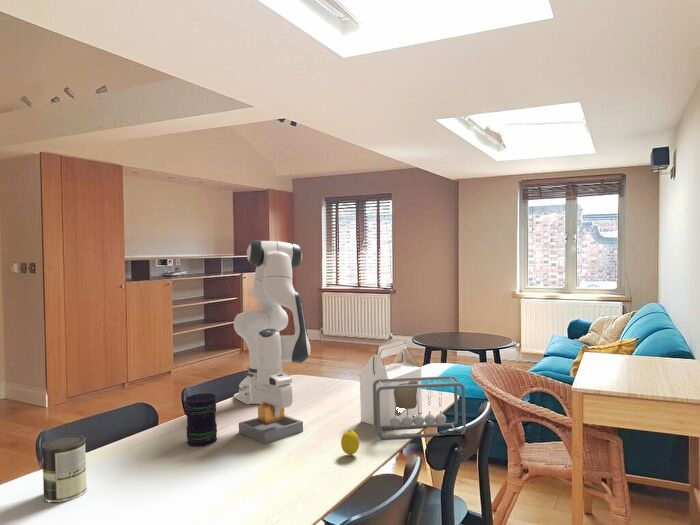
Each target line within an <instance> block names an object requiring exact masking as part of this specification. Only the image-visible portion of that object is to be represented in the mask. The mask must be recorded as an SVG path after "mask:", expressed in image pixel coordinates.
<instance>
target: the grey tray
mask: <svg viewBox="0 0 700 525" xmlns="http://www.w3.org/2000/svg"><path fill="white" fill-rule="evenodd" d="M284 417H285V420H282V421H279V422H276V423H273V424H270V425H263V424H260V423H258V416H257V417H254V418H251V419H248V420H242V421H240V422H238V434H241V435H244V436H245V435H246V436H245V437H249V439H253V440H255V441H257V442H259V443H263V444H265V445H267V444H269V443H272V442H275V441H278V440H281V439H285V438H287V437H290V436H291V437H292V436H293V435H297V434H299V433H302V432H304V421H302V420H300V419H296V418H294V417H291V416H288V415H285V414H284Z"/></svg>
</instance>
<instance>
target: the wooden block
mask: <svg viewBox="0 0 700 525" xmlns="http://www.w3.org/2000/svg"><path fill="white" fill-rule="evenodd" d="M273 412H275V408H274V405H272V404H269V403H266V404H262V405H261V404H258V405H257V417H258V423H260V424H263V425H270V424H273V423H276V422H279V421H282V420H285V417H284V415H285V408H281V410H280V416H279V417H278V418H275V417H273Z"/></svg>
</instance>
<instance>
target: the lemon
mask: <svg viewBox="0 0 700 525" xmlns="http://www.w3.org/2000/svg"><path fill="white" fill-rule="evenodd" d="M340 445H341V450H343V452H344V453H345V454H346V455H348V456H349V455H350V457H351V455H354V454H356V453H357V452H358V450H359V447H360V439H359V436H358V434H357V433H356V432H355V431H353V430H352V429H348V430H346V431H345V432H344V433H343V434H342V436H341V441H340Z"/></svg>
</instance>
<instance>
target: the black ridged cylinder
mask: <svg viewBox="0 0 700 525" xmlns="http://www.w3.org/2000/svg"><path fill="white" fill-rule="evenodd" d="M216 399H217V398H216V395H215V394H214V393H197V394H192V395H189V396H187V397H186V398H185V411H186V412H185V415H186V420H187V421H186V423H187V425H186V440H187V441H186V443H187V445H188V446H189V447H192V448H193V447H194V448H200V446H201V448H202V446H203V447H207V446H206V445H208V446H211V445H213V444H215V443H217V440H218V437H217V434H218V429H217V428H218V426H217V422H216V413H217V402H216ZM210 444H211V445H210Z"/></svg>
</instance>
